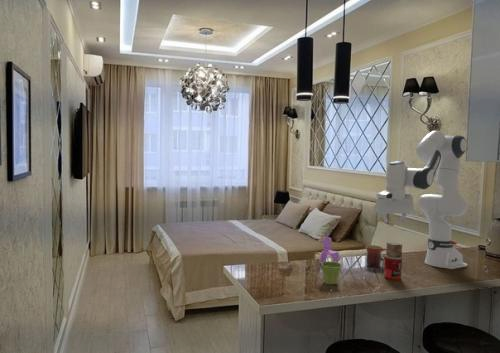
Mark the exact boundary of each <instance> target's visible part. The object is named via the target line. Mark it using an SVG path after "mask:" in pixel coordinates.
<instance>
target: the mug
mask: <svg viewBox="0 0 500 353" xmlns="http://www.w3.org/2000/svg"><path fill="white" fill-rule="evenodd" d="M365 250H366V258H365V259H366V265H367V266H368V267H371V268H378V267H380V266H381V263H382V261H385V256H384V257H382V252H384V251H386V250H387V248H383V246H380V245H374V244H373V245H371V244H369V245H366V246H365Z"/></svg>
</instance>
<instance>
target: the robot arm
mask: <svg viewBox="0 0 500 353" xmlns="http://www.w3.org/2000/svg"><path fill="white" fill-rule="evenodd" d="M467 148H468V141H467V139H466V137H464V136H462V135H445V134H444V133H443V132H442V131H440V130H432V131H431V132H429V133H427V134H426V135H425V136H424V137H423V138H422V139H421V141H419V143H418V144H417V145H416V148H415V150H416V151H415V153H416V155H417V157H418V159H420V160H421V161H423V162H425V163H426V164H425V166H424V167H421V168H418V167H416V168H415V167H408V166H406V164H405V162H404V161H402V160H396V161H395V160H394V161H390V162H388V165H387V167H386V168H387V169H386V177H385V179H386V186H385V190H382V191H379V192H378V193H376V197H377V198H376V200H375V205H374V210H375V213H377V214H380V215H381V216H382V218H383V223H385V224H386V223H389V218H388V217H387V216H388V214H401V217H399V222H401V223H404V222H405V221H406V220H405V219H406V218H407V216H408V214H410V213H413V212H414V199H413V198H414V197H413V195H412V194H411V193H406V188H411V189H420V190H427V189H428V188H430V187H431V186H432V184H433V181H435V184H436V185H435V186H437V187H438V188H439V189H441V190H443V193H442V194H438V193H436V194H435V193H426V194H421V195H420V197H419V198H418V200H417V206H418V209H419V210H420V211H421V212H422V213H423V214H424V215H425V217H426V219H427V222H428V233H429V234H428V239H427V252H426V255H425V258H424V259H425V260H424V264H426V265H428V266H432V267H437V268H444V269H449V270H455V269H460V268H465V267H466V268H467V267H468V263H466V262H464V261H463V257H464V256H463V255H462V253H461V252H459V251H458V249H456V248H455V247H454V246H456V245H457V244H458V242H457V241H456V240H452V225H451V224H450V223H449V222H447V221H446V220H445V219H444V218H443V216H450V217H461V216H463V215H465V214H467V213H466V212H467V211H468V202H467V201H466V199H465V198H464V197H463V196H462V194H461V193H460V191H459V186H458V184H459V176H460V171H461V157H462V156H463V155H464V154H465V153H466V151H467ZM435 175H436V177H435ZM434 177H435V180H434Z"/></svg>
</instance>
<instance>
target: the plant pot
mask: <svg viewBox="0 0 500 353" xmlns="http://www.w3.org/2000/svg"><path fill="white" fill-rule="evenodd" d="M320 265H321V268H322V274H323V276H322V277H323V282H324V284H326V285H337V284H339V282H338V281H339V276H340V273H341V272H340V271H341V269H342V266H343V265H342V264H341V263H339V262H338V263H337V262H333V261H326V262H322V263H321V264H320Z"/></svg>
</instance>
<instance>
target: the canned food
mask: <svg viewBox="0 0 500 353" xmlns="http://www.w3.org/2000/svg"><path fill="white" fill-rule="evenodd" d="M384 257H385V260H384V278H385V279H387V280H390V281H400V280H401V278H402V268H403V267H402V265H403V256H402V257H391V256H388V255H386V254H385V256H384Z"/></svg>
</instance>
